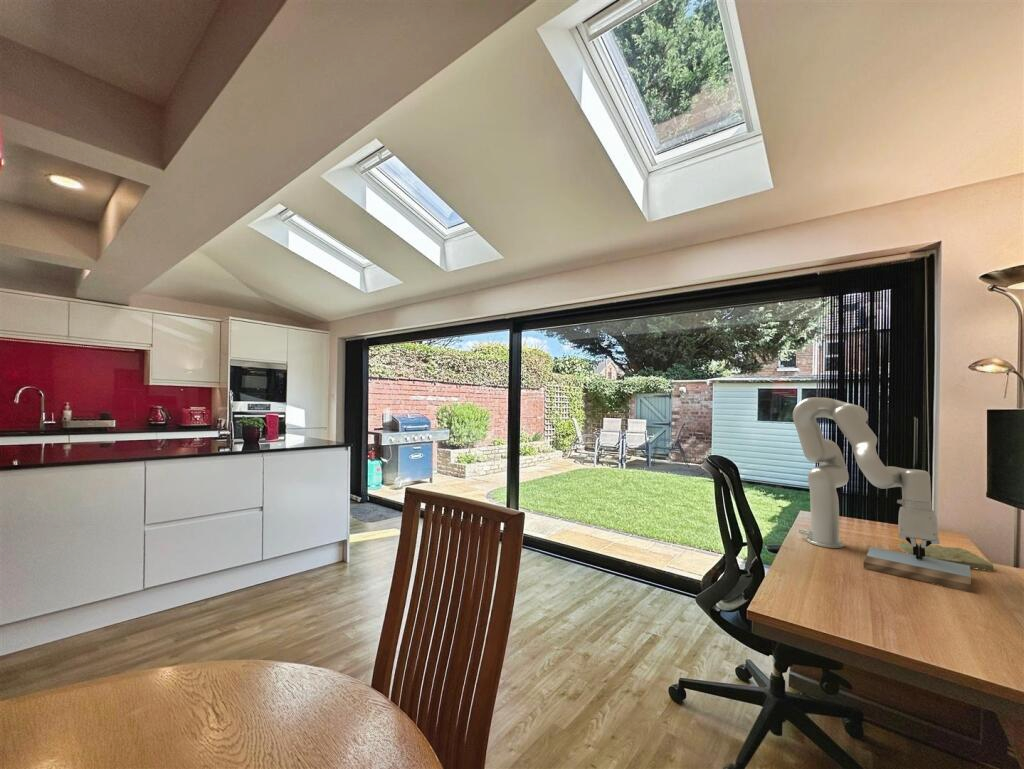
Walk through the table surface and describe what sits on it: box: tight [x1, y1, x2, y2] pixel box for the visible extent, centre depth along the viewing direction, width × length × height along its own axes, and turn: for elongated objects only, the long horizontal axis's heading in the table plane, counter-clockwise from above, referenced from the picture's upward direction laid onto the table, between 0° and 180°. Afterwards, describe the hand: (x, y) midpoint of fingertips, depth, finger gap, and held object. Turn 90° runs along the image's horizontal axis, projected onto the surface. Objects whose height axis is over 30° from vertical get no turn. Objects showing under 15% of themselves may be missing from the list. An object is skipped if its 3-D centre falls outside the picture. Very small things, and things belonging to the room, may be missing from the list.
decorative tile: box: [897, 541, 994, 572], centre depth 163 cm, size 19×20×4 cm
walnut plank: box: [863, 555, 972, 593], centre depth 146 cm, size 26×8×2 cm, turn 45°
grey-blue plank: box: [866, 546, 972, 577], centre depth 152 cm, size 26×8×2 cm, turn 45°
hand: (919, 557), depth 153 cm, fingers closed
